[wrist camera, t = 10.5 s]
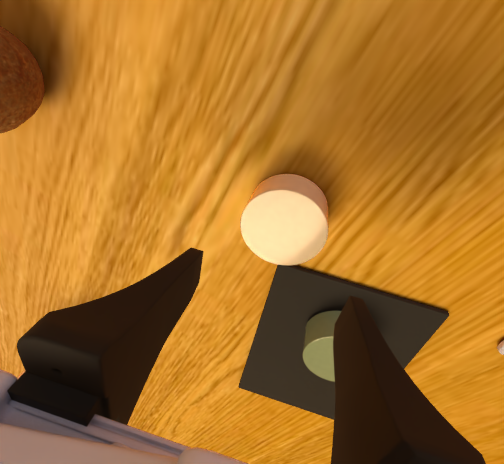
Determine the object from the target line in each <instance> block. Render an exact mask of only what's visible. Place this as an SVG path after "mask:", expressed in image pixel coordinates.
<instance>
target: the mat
mask: <svg viewBox="0 0 504 464" xmlns="http://www.w3.org/2000/svg"><path fill="white" fill-rule="evenodd" d="M349 296H354V297H357V298H360V299H363V300H364V302H365V304H366V306H367V308H368V310H369V312H370V314H371V316H372V317H373V319H374V321H375V323H376V325H377V327H378V329H379V331H380V332H381V334H382V336H383V338H384V339H385V341H386V343H387V344H388V346H389V348H390V349H391V351H392V352H393V354H394V356H395V357H396V359H397V360H398V362H399V363H400V365H401V366H402V367H403V369H404V368H405V367H406V366H407V365H408V363H409V362H410V361H411V360H412V359H413V358H414V356H415V355H416V354H417V353H418V352H419V350H420V349H421V348H422V347H423V346H424V345H425V343H426V342H427V341H428V340H429V339H430V337H431V336H432V335H433V334H434V333H435V332H436V330H437V329H438V328H439V327H440V326H441V325H442V323H443V322H444V321H445V320H446V319H447V317H448V316H449V313H448V311H444V310H441V309H438V308H434V307H431V306H428V305H424V304H421V303H418V302H415V301H411V300H408V299H405V298H401V297H398V296H395V295H391V294H388V293H385V292H381V291H378V290H375V289H371V288H368V287H365V286H361V285H358V284H355V283H351V282H348V281H345V280H341V279H338V278H335V277H331V276H328V275H325V274H321V273H318V272H315V271H311V270H308V269H305V268H301V267H298V266H295V265H278V266H277V269H276V272H275V276H274V279H273V282H272V285H271V288H270V291H269V294H268V297H267V300H266V303H265V306H264V309H263V313H262V316H261V319H260V322H259V325H258V328H257V331H256V334H255V337H254V340H253V343H252V346H251V350H250V353H249V356H248V359H247V362H246V365H245V368H244V371H243V374H242V377H241V380H240V383H239V388H242V389H245V390H248V391H251V392H254V393H257V394H260V395H263V396H265V397H268V398H271V399H274V400H277V401H280V402H283V403H286V404H289V405H292V406H295V407H298V408H301V409H304V410H307V411H310V412H313V413H316V414H319V415H322V416H325V417H328V418H331V419H334V417H335V382H333V381H329V380H326V379H323V378H321V377H319V376H317V375H315V374H314V373H313V372H311V371H310V370H309V369H308V368H307V366H306V365H305V363H304V361H303V345H304V334H305V327H306V324H307V322H308V321H309V320H310V319H311V318H312V317H313V316H315V315H317V314H319V313H322V312H326V311H342V309H343V307H344V306H345V304H346V302H347V300H348V298H349Z"/></svg>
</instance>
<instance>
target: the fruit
mask: <svg viewBox="0 0 504 464" xmlns="http://www.w3.org/2000/svg"><path fill="white" fill-rule="evenodd" d="M44 93H45V90H44V80H43V75H42V73H41V70H40V68H39V65H38V63H37V60H36V59H35V58H34V56H33V55H32V53H31V52H30V51H29V49H28V48H27V47H26V45H25V44H23V43H22V42H21V41H20V40H19V39H17V38H16V37H15V36H14V35H13V34H11V33H10V32H8V31H7V30H5V29H4V28H2V27H1V26H0V133H4V132H7V131H10V130H12V129H15V128H17V127H18V126H19V125H21V124H22V123H24V122H25V121H26V120H27V119H29V118H30V117H31V116H32V115H33V114H35V112H36V111H37V109H38V108H39V106H40V105H41V103H42V99H43V96H44Z"/></svg>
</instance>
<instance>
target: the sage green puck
mask: <svg viewBox="0 0 504 464" xmlns="http://www.w3.org/2000/svg"><path fill="white" fill-rule="evenodd" d="M340 313H341V311H326V312H322V313H319V314H317V315H315V316H313V317H312V318H311V319H310V320H309V321H308V322H307V324H306V327H305V334H304V345H303V361H304V363H305V365H306V366H307V368H308V369H309V370H310V371H311V372H313V373H314V374H315V375H317V376H319V377H321V378H323V379H326V380H329V381H333V382H335V377H334V357H333V337H334V326H335V322H336V320H337V319H338V317H339V315H340Z"/></svg>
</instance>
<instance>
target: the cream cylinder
mask: <svg viewBox="0 0 504 464" xmlns="http://www.w3.org/2000/svg"><path fill="white" fill-rule="evenodd" d="M240 228H241V233H242V236H243V239H244V241H245V243H246V244H247V246H248V247H249V248H250V250H251V251H252V252H254V253H255V254H256V255H257V256H258V257H260V258H262V259H263V260H266V261H268V262H270V263H273V264H278V265H297V264H301V263H304V262H306V261H309V260H310V259H312V258H313V257H315V256H316V255H317V254H318V253H319V252H320V251H321V250H322V248H323V247H324V245H325V243H326V240H327V236H328V204H327V200H326V198H325V196H324V194H323V192H322V191H321V189H320V188H319V187H318V186H317V185H316V184H315V183H313V182H312V181H310V180H309V179H307V178H305V177H302V176H299V175H294V174H279V175H275V176H272V177H270V178H267V179H266V180H264V181H263V182H261V183H260V184H259V185H258V186H257V187H256V189H255V190H254V192H253V193H252V195H251V197H250V199H249V201H248V203H247V205H246V207H245V208H244V211H243V213H242V216H241V222H240Z"/></svg>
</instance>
